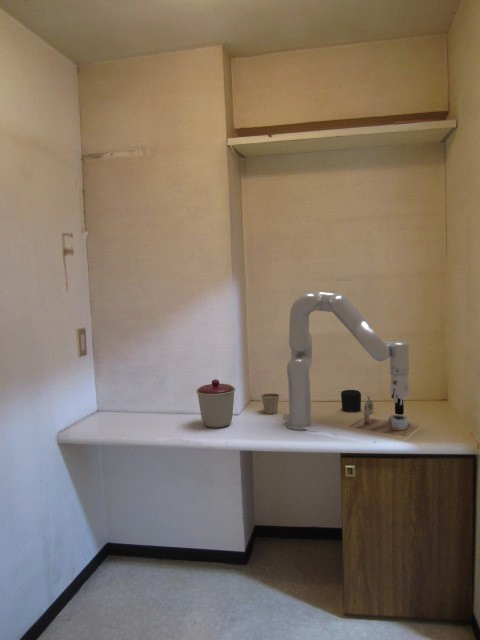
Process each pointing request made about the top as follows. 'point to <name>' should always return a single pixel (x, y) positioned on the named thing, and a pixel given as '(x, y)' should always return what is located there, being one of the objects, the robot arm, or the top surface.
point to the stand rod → (366, 417)
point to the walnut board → (380, 426)
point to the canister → (216, 404)
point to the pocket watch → (368, 405)
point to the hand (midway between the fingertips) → (399, 413)
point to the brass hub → (398, 429)
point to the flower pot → (270, 402)
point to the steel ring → (398, 421)
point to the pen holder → (351, 401)
